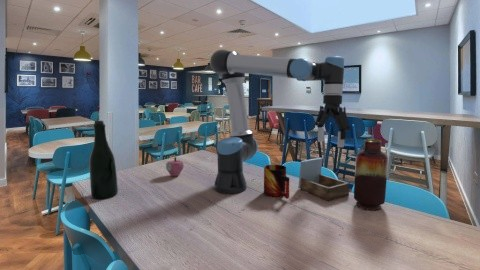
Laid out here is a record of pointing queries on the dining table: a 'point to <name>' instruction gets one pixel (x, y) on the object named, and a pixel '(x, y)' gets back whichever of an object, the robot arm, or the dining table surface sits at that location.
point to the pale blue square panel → (310, 170)
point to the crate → (326, 188)
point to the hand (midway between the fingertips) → (330, 144)
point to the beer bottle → (102, 165)
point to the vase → (370, 176)
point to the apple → (174, 167)
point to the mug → (276, 181)
